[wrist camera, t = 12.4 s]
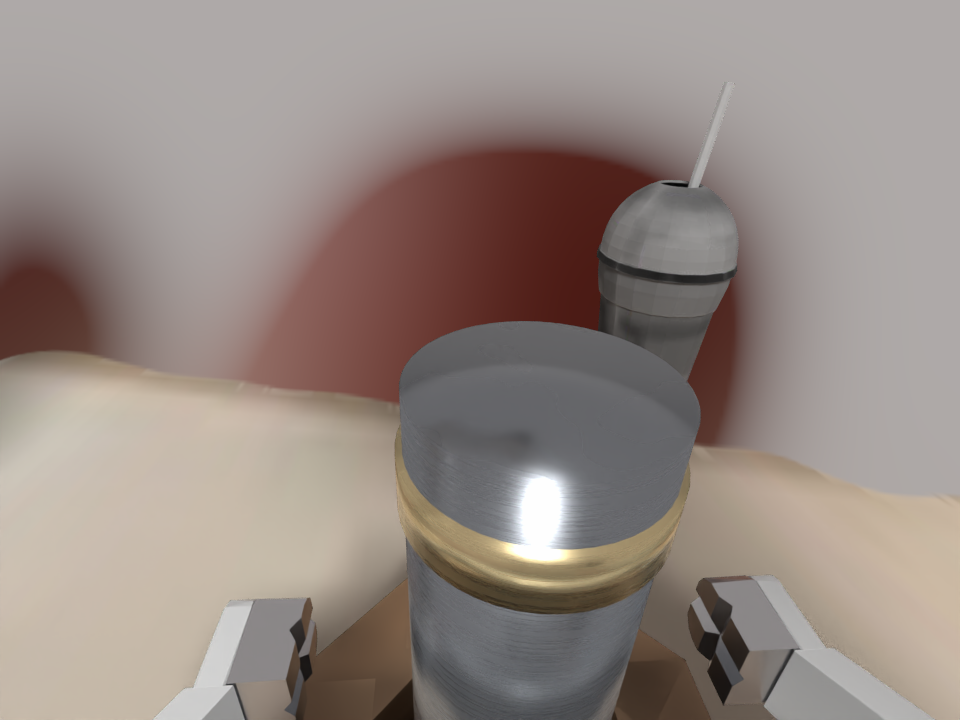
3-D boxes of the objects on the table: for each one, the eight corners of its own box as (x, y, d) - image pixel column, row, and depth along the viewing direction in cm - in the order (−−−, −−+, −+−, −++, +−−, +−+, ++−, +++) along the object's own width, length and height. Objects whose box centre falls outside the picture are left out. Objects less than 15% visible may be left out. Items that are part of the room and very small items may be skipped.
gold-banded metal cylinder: (415, 978, 13) (376, 495, 5) (419, 776, 16) (399, 318, 9) (580, 958, 13) (781, 481, 5) (548, 766, 17) (639, 318, 9)
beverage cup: (566, 396, 36) (611, 78, 27) (669, 404, 36) (752, 84, 27) (575, 463, 30) (639, 76, 21) (701, 473, 30) (825, 84, 20)
